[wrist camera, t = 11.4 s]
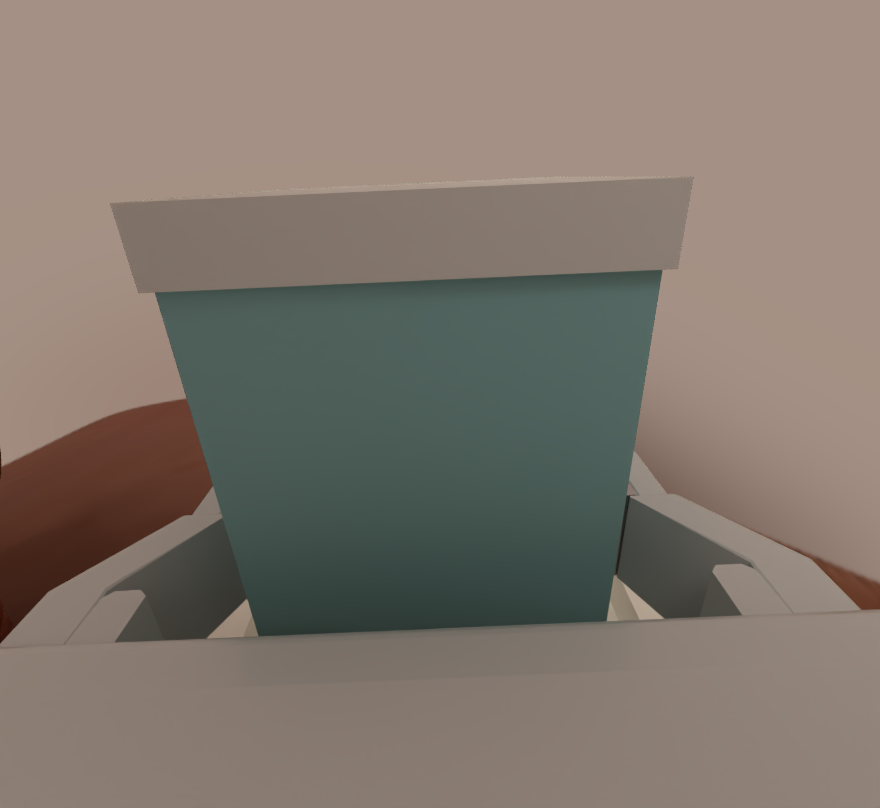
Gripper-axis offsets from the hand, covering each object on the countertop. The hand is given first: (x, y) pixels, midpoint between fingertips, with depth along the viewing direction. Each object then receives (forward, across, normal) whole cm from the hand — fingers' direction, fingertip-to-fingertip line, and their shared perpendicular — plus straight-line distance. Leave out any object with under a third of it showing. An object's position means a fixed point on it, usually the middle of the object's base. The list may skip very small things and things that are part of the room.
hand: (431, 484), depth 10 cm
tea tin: (-1, 0, +6) cm, 7 cm away
